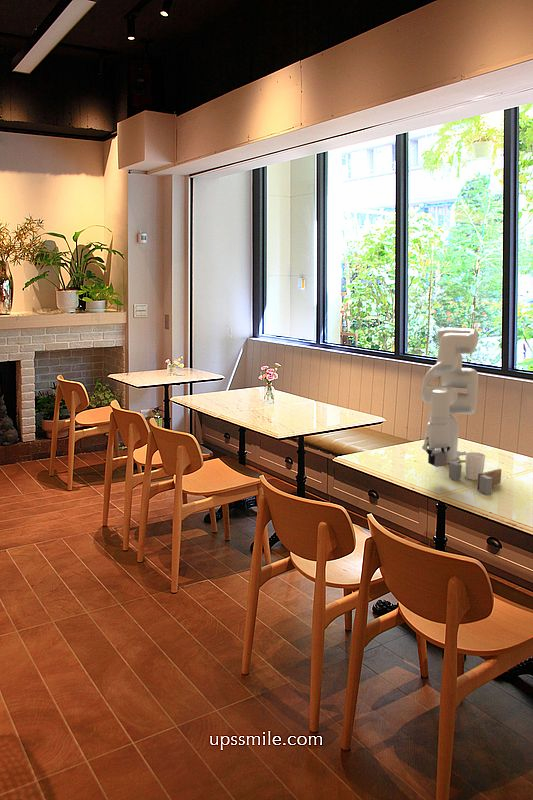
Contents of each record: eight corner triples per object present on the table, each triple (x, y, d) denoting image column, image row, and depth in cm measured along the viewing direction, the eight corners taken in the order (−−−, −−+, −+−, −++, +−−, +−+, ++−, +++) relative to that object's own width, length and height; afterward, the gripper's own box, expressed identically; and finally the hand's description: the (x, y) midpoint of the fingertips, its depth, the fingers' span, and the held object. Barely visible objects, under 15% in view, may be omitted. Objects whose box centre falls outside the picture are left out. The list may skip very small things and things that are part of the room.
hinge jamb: (483, 490, 296) (485, 474, 295) (491, 494, 292) (492, 478, 290) (478, 491, 295) (479, 475, 294) (486, 494, 291) (487, 478, 290)
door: (500, 484, 304) (501, 469, 303) (479, 490, 296) (480, 474, 294) (497, 483, 305) (498, 468, 304) (476, 489, 297) (477, 473, 296)
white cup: (461, 475, 317) (463, 452, 315) (479, 474, 318) (481, 452, 316) (468, 480, 309) (469, 457, 307) (486, 480, 310) (488, 457, 308)
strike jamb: (453, 476, 315) (454, 461, 313) (460, 480, 310) (461, 464, 309) (448, 477, 314) (449, 462, 312) (455, 480, 309) (456, 465, 308)
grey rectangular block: (437, 461, 309) (438, 449, 308) (445, 465, 303) (446, 453, 302) (428, 462, 307) (428, 451, 306) (436, 467, 302) (436, 455, 301)
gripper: (451, 416, 307) (449, 458, 312) (416, 419, 301) (414, 463, 306) (462, 420, 300) (459, 463, 305) (426, 424, 295) (424, 468, 299)
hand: (436, 463), depth 305 cm, fingers closed on grey rectangular block, 4 cm apart
